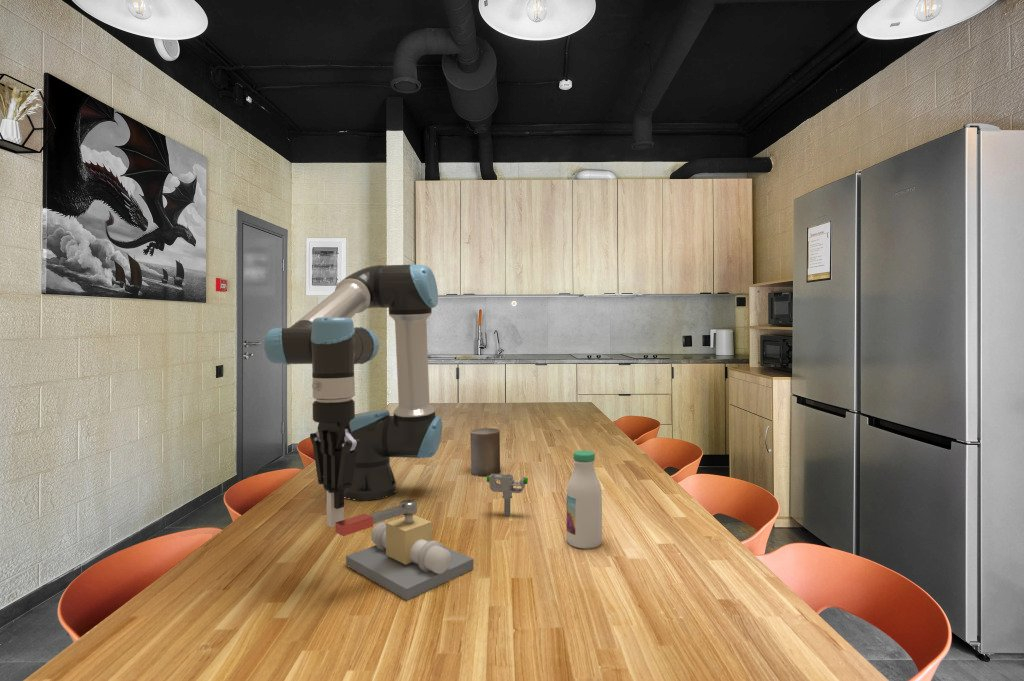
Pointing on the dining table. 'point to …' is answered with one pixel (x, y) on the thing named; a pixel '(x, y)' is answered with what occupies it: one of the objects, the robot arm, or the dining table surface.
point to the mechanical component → (506, 487)
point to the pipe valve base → (408, 558)
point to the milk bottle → (584, 503)
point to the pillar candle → (485, 451)
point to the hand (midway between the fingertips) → (335, 523)
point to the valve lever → (374, 518)
